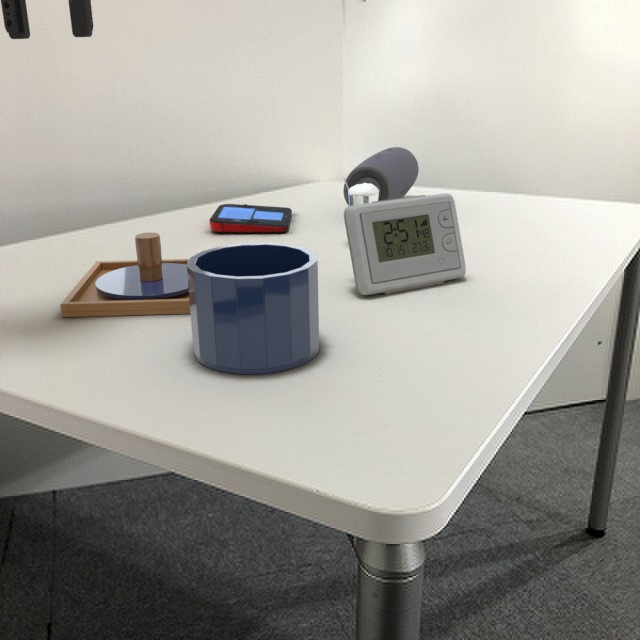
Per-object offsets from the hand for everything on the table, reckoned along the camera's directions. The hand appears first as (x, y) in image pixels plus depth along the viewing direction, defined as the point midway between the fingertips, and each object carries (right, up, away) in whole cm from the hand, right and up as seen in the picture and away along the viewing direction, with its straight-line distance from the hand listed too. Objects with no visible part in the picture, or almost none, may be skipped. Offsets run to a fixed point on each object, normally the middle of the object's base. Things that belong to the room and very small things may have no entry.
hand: (52, 38), depth 80 cm
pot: (+21, -32, 0) cm, 38 cm away
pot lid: (+6, -24, +18) cm, 31 cm away
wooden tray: (+6, -25, +18) cm, 32 cm away
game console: (+16, -13, +51) cm, 55 cm away
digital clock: (+38, -25, +19) cm, 49 cm away
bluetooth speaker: (+39, -9, +60) cm, 72 cm away
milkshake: (+33, -18, +38) cm, 53 cm away
